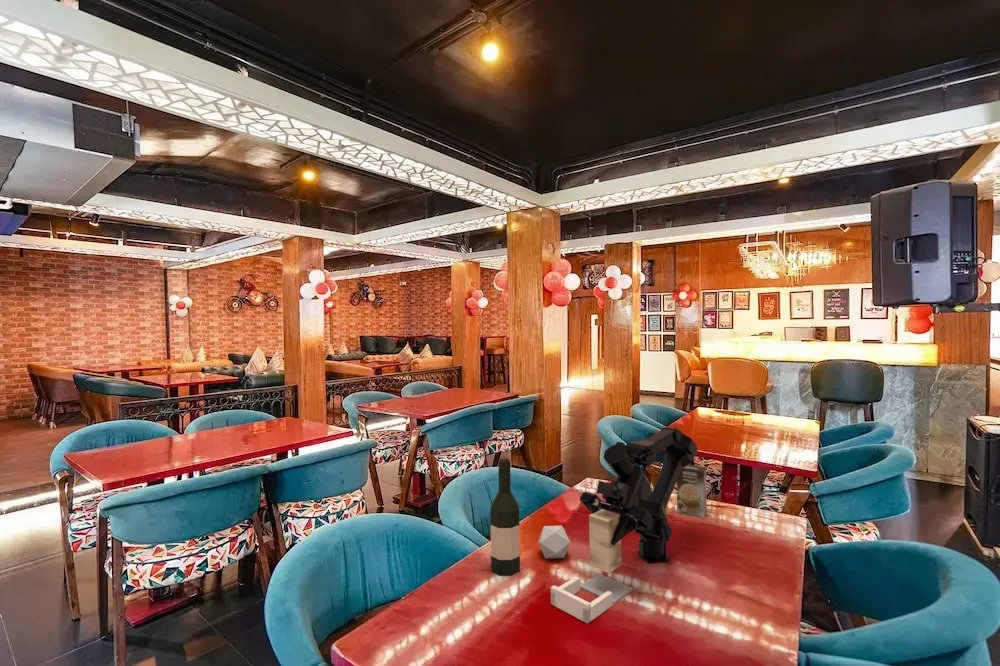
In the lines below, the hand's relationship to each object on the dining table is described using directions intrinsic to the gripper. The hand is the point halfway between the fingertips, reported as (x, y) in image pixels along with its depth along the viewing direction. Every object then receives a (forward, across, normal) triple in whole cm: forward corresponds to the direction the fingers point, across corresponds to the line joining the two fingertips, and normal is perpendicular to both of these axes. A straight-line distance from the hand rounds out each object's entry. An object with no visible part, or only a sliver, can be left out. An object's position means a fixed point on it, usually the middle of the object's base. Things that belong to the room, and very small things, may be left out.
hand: (602, 540), depth 117 cm
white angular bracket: (+15, 0, +3) cm, 15 cm away
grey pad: (+8, 0, +10) cm, 13 cm away
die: (+5, -20, +13) cm, 24 cm away
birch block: (+4, 0, +6) cm, 7 cm away
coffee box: (-36, -7, +55) cm, 66 cm away
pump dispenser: (-25, -18, +43) cm, 52 cm away
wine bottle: (+15, -25, +2) cm, 29 cm away
